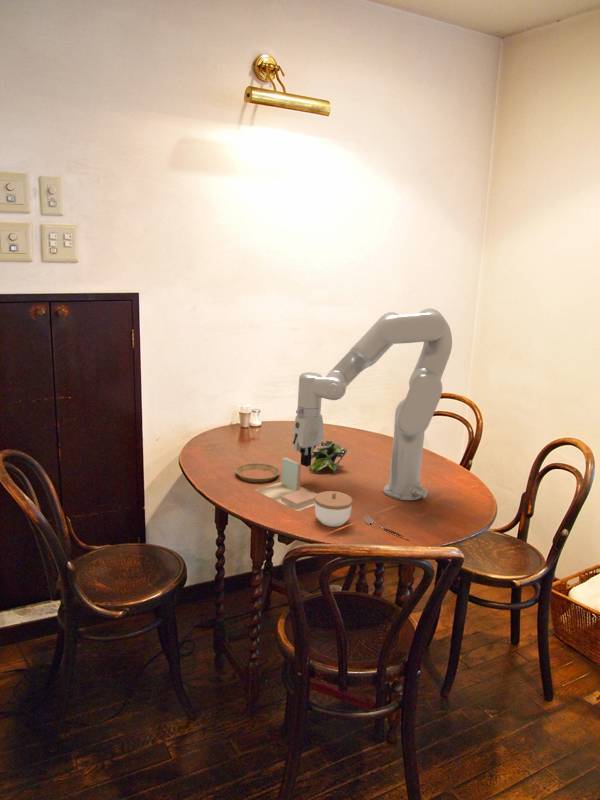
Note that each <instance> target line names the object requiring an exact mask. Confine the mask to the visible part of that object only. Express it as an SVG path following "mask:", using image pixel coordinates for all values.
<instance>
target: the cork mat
mask: <svg viewBox="0 0 600 800" xmlns="http://www.w3.org/2000/svg"><path fill="white" fill-rule="evenodd" d="M302 489H303V490H305V491H307V492H310V493H312V494H314V495H317V494H318V493H316V492H314V491H312V490H309V489H307V488H305V487H303V486H301V485H300V490H302ZM254 491H255V492H257V493H259V494H261V495H264V496H265V497H267V498H269V499H271V500H274V501H276V502H278V503H280V504H281V505H284V506H285V507H288V508H290V509H292V510H294V511H296V512H301V511H302V510H305V509H309V508H311V507H315V502H314V503H311V504H309V505H306V506H303V507H300V508H295V507H292V506H290V505H288V504H286V503H284V502H282V501H281V496H283V495H286V494H289V493H292V492H296V491H295V490H293V489H291V488H288V487H286V486H284V485H282V484H281V481H280V482H276V483H273V484H270V485H269V484H268V485H266V486H263V487H260V488H256V489H254ZM297 491H299V490H297Z"/></svg>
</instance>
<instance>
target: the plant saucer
mask: <svg viewBox="0 0 600 800" xmlns="http://www.w3.org/2000/svg"><path fill="white" fill-rule="evenodd" d="M251 470H260V471H261V470H263V471H266V472H267V471H268V472H270V473H272V474H273V476H271V477H264V478H255V477H254V478H253V477H248V476H243V475H241V474H242V473H243V472H246V471H251ZM280 472H281V471H280V469H279V468H278V467H276V466H275V465H271V464H267V463H260V462H259V463H247V464H241V465H239V466H238V467H236V469H235V473H236V474H237V476H239V478H240V479H242V480H243V481H246V482H250V483H266V482H270V481H274V479H276V478H277V477H278V475H280V474H281V473H280Z"/></svg>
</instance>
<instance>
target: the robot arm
mask: <svg viewBox="0 0 600 800" xmlns="http://www.w3.org/2000/svg"><path fill="white" fill-rule="evenodd" d="M452 335H453V334H452V330H451V327H450V325H449V323H448V321H447V320H446V319H445V317H444V316H443V314H442V313H440V312H439V310H437V309H434V308H425V309H423V310H421V311H420V312H419V313H411V314H410V313H409V314H399V313H396V312H393V311H390V312H386V313H384V314H383V315H381V316H380V317H379V319H378V320H376V322H375V323H374V324H373V325H372V326H371V327H370V328H369V329H368V330H367V332H366V333H365V334H364V335H363V336H361V338H360V339H359V340H358V341H357V342H356V343H355V344H354V345H353V346H352V347H351V349H349V351H348V352H347V353H346V354H345V355H344V356H343V357H342V358H341V359H340V360H339V362H337V364H335V365H334V367H333V368H332V369H331V370H329V372H327V374H326V376H323V375H321V374H320V373H317V372H312V371H311V372H302V373H301V374H300V375H299V377H298V391H297V392H298V393H297V394H298V395H297V408H296V409H297V410H296V411H295V414H296V416H295V419H294V424H293V430H292V431H293V432H292V444H293V445H294V446H293V450H294V451H296V452H299V454H300V463H301V466H304V467H310V466H311V465H312V459H311V455H312V454H314V453H313V451H315V450H316V448H318V447H320V446H319V445H321V443H322V442H324V420H323V415H322V414H321V413H322V412H321V410H322V399H325V400H329V401H338V400H340V399H342V398H344V396H345V394H346V390H347V388H348V386H349V385H350V384H351V383H352V382H353V381H354V380H355V379H356V378H357V376H359V375H360V374H361V373H362V372H363V371H364V370H366V369H367V368H371V367H372V366H373V365H375V364H376V363H377V362H378V361H379V360H380V359H381V358H382V357H383V355H384V354H386V353H387V352H388V350H390V348H391V347H392V346H393V345H396V344H400V345H401V344H413V343H414V344H415V343H422V344H423V345H422V349H421V351H420V354H419V357H418V360H417V362H416V365H415V366H414V368H413V371H412V373H411V375H410V378H409V381H408V386H409V389H408V391H407V394H406V395H405V396H406V397H405V398H404V399H402V400H401V401H399V403H398V404H397V406H396V408H395V411H394V412H395V413H394V424H393V426H394V427H393V428H394V429H393V439H392V441H393V442H392V447H391V448H392V450H391V451H392V452H391V459H390V460H391V461H390V470H389V471H390V472H389V480H388V483H387V484H386V485H384V486H383V492H384V494H385V495H387V497H390V498H392V499H396V500H399V501H416V500H420V499H421V498H424V499H425V498H426V497H427V496H428V493H429V490H428V489H427V488H423V483H422V482H421V481H420V478H421V470H422V460H423V449H424V441H425V432H426V431H427V429H428V427H429V425H430V424H431V421H432V419H433V417H434V414H435V413H436V409H437V407H438V405H439V403H440V400H441V398H442V397H441V396H442V395H443V394H442V393H443V384H442V377H443V374H444V372H445V369H446V367H447V363H448V361H449V359H450V355H451V354H452V353H451V352H452V347H453V336H452Z"/></svg>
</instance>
